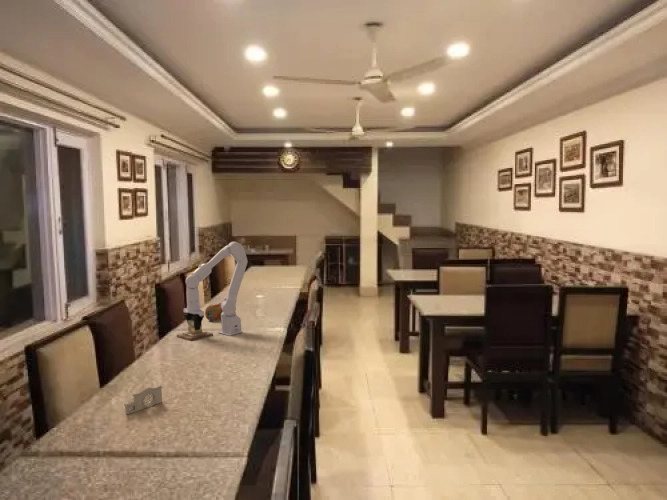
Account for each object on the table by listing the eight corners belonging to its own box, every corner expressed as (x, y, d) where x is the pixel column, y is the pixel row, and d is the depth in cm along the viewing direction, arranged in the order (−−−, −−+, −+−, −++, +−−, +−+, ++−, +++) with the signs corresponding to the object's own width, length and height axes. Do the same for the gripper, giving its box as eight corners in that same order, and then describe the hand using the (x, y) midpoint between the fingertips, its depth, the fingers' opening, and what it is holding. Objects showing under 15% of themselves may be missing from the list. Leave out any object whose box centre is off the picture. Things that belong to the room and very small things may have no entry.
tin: (208, 322, 264) (207, 306, 263) (204, 321, 265) (203, 306, 265) (230, 316, 275) (229, 301, 275) (226, 316, 277) (225, 301, 277)
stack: (201, 332, 235) (201, 319, 235) (193, 334, 232) (193, 321, 231) (196, 330, 238) (195, 318, 238) (188, 332, 235) (187, 320, 234)
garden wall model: (127, 415, 146) (125, 396, 146) (124, 414, 148) (122, 394, 147) (163, 402, 156) (162, 384, 155) (160, 401, 157) (159, 382, 156)
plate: (213, 335, 235) (212, 331, 235) (190, 341, 227) (190, 337, 226) (198, 331, 244) (198, 328, 243) (176, 336, 235) (176, 333, 234)
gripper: (177, 300, 235) (178, 328, 237) (194, 303, 226) (195, 333, 227) (190, 298, 241) (191, 325, 242) (207, 301, 231) (208, 330, 232)
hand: (194, 329), depth 235 cm, fingers closed on stack, 5 cm apart
